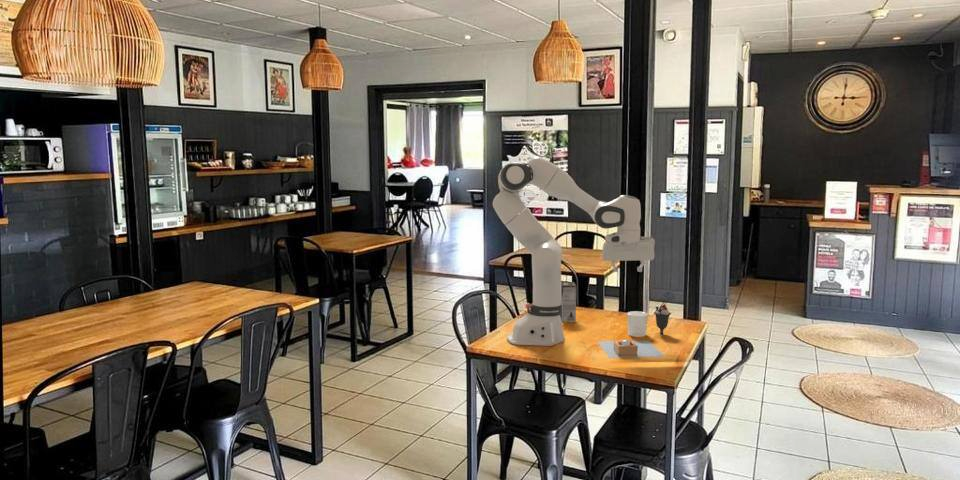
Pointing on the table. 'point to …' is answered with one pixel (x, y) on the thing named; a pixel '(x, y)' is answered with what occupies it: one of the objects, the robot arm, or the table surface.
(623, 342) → the piston
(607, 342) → the plate
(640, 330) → the white cup
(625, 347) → the collar
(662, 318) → the sundae
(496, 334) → the table surface
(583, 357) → the table surface
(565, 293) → the coffee box
